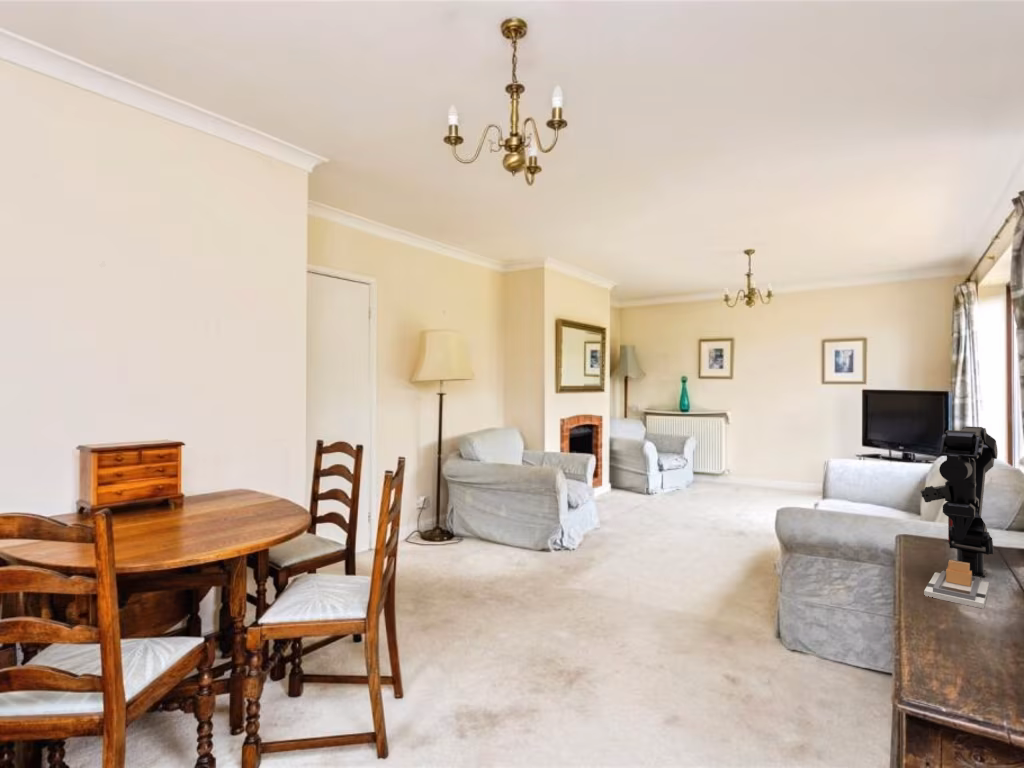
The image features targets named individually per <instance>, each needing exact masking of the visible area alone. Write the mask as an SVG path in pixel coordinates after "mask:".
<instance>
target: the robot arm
mask: <svg viewBox="0 0 1024 768" xmlns="http://www.w3.org/2000/svg"><path fill="white" fill-rule="evenodd" d="M939 448H940V449H939V456H941V457H946V460H944V461H943V462H942V463H941V464H940V466H939V470H938V471H939V474H940V476H941V477H942V478H943V479H945V480H946V481H945V482H944V485H939V486H938V485H937V486H933V485H930V486H925V487H924V488H923V489H921V490H920V494H921V497H922V498H923V501H924V503H931V502H932V501H933V502H934V501H938V500H944V502H945V503H944V504H943V505H942V513H943V514H944V515H945V516H946V517H949V518H950V519H951V520H952V522H953V523H952V527H951V526H950V527H949V540H948V544H949V549H956V561H961V562H966V563H970V571H972V576H975V577H980V578H981V577H983V578H985V577H986V574H987V570H986V569H984V568H985V567H984V564H985V563H984V561H985V560H984V559H985V558H984V557H985V556H984V555H987V556H989V555H993V554H994V543H993V537H992V536H991V535H990V532H988V528H987V526H986V523H985V521H984V520H983V518H982V513H983V510H982V509H983V500H984V492H985V480H986V473H987V472H988V471H990V470H991V469H992V468H993V467H994V465H995V460H997V459H998V452H999V451H998V445H997V440H996V439H995V438H994V437H992V436H991V435H990V434H989V433H987V429H986V428H985V427H982V426H962V429H960V430H958V429H957V430H951V429H947V430H946V431H945V433H943V434H942V436H941V443H940V447H939Z"/></svg>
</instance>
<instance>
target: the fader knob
mask: <svg viewBox="0 0 1024 768" xmlns="http://www.w3.org/2000/svg"><path fill="white" fill-rule="evenodd" d="M947 564H948V565H947V567H946V569H945V571H946V582H951V583H956V584H961V585H966V586H971V584H972V576H973V575H972V571H970V563H966V562H961V561H957V560H955V559H949V560H948V562H947Z"/></svg>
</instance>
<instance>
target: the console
mask: <svg viewBox="0 0 1024 768" xmlns="http://www.w3.org/2000/svg"><path fill="white" fill-rule="evenodd" d="M989 588H990V582H989V581H983V580H981V577H980V576H975V575H972V584H971V586H966V585H961V584H956V583H951V582H946V570H942V571H941V572H934V574H933V575H932V577H931V579H930V580H929V582H928V583H927V585H926V587H925V589H924V590H923V594H924V595H925V596H924V595H923V596H924V597H928V596H929V598H932V597H933V598H934V599H937V600H941V601H947V602H952V603H956V604H960V605H964V606H965V605H966V606H970V607H973V608H974V607H975V608H979V609H985V606H986V601H987V597H988V593H989Z"/></svg>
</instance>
